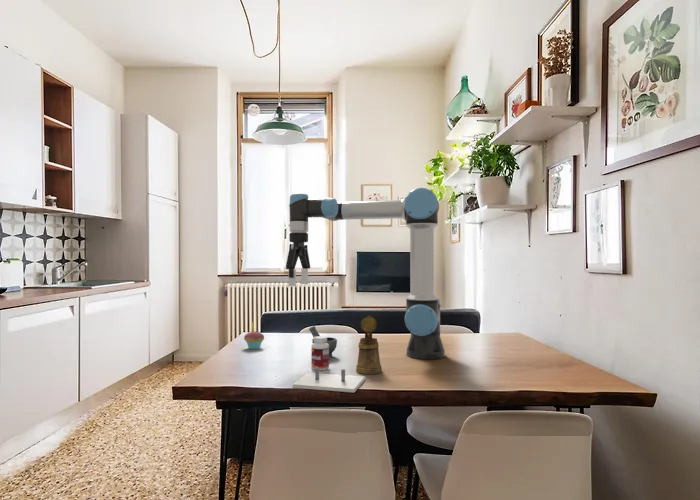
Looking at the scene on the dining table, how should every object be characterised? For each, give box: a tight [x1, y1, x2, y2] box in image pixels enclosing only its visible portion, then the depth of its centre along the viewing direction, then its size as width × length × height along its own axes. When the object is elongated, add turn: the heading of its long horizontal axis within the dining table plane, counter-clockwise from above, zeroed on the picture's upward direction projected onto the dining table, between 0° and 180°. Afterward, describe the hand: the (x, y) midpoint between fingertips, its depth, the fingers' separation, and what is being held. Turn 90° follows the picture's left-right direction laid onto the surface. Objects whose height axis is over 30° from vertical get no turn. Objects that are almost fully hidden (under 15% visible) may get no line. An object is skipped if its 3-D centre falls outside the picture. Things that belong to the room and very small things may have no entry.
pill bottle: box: [310, 335, 330, 371], centre depth 154 cm, size 6×6×11 cm
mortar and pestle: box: [308, 325, 338, 359], centre depth 173 cm, size 11×9×12 cm
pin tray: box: [292, 368, 366, 394], centre depth 136 cm, size 19×14×4 cm
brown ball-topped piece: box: [355, 315, 383, 375], centre depth 153 cm, size 9×14×18 cm, turn 176°
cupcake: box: [243, 322, 265, 350], centre depth 190 cm, size 9×8×12 cm
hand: (298, 285), depth 176 cm, fingers open, 13 cm apart
